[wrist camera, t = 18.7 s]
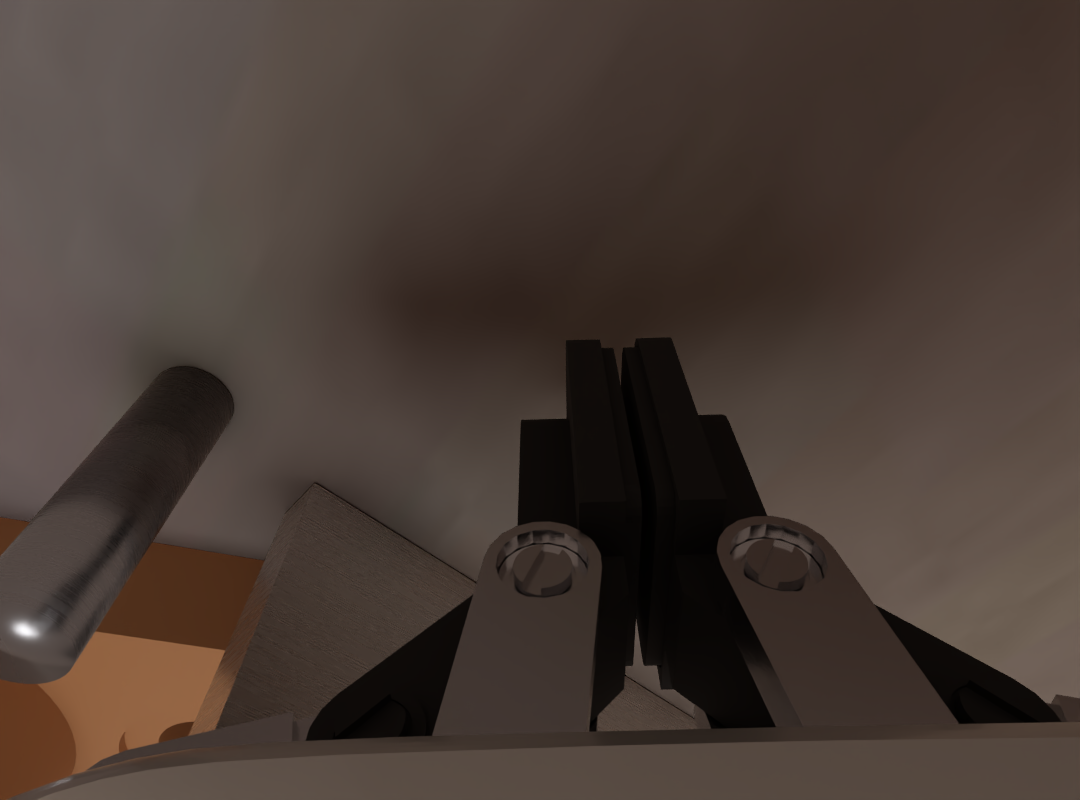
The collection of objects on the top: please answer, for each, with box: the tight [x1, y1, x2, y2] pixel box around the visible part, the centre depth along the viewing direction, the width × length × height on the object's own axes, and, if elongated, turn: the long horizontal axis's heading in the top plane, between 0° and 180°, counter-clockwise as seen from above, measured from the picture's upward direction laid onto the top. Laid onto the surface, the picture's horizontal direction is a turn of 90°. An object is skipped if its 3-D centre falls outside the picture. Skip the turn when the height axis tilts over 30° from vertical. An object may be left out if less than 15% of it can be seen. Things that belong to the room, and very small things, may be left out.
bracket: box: [0, 517, 264, 800], centre depth 16 cm, size 18×8×7 cm, turn 76°
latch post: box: [0, 367, 234, 684], centre depth 12 cm, size 2×2×6 cm
